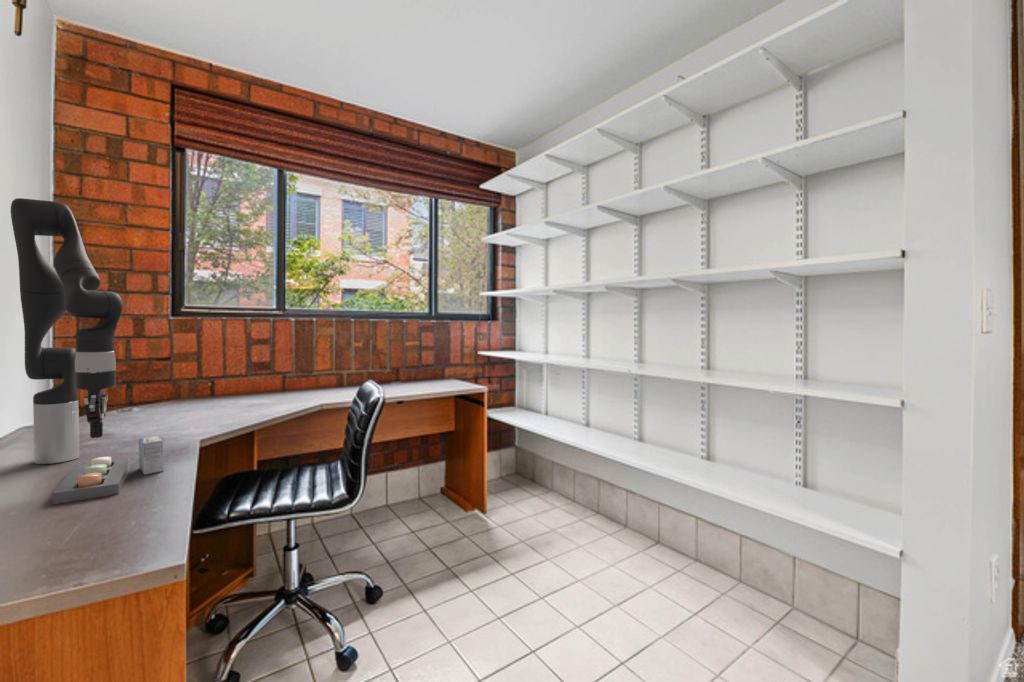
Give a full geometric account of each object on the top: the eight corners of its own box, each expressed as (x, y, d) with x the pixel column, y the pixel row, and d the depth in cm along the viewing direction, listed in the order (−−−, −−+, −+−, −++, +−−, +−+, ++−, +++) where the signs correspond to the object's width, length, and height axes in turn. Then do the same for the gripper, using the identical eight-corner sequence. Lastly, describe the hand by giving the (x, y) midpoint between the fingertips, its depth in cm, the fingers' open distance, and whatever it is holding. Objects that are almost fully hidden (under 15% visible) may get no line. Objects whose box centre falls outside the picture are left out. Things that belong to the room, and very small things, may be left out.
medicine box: (164, 471, 121) (163, 440, 120) (143, 475, 117) (142, 443, 117) (159, 465, 126) (158, 435, 126) (138, 468, 123) (138, 438, 123)
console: (75, 474, 117) (75, 465, 117) (130, 467, 124) (130, 458, 124) (52, 504, 98) (52, 493, 98) (118, 494, 104) (118, 483, 104)
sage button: (86, 477, 111) (86, 465, 111) (107, 474, 113) (107, 463, 113) (83, 482, 108) (83, 470, 108) (105, 479, 110) (105, 467, 110)
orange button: (80, 487, 105) (79, 474, 105) (102, 483, 107) (102, 471, 107) (76, 492, 101) (76, 479, 101) (99, 488, 104) (99, 476, 104)
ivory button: (92, 469, 118) (92, 458, 117) (112, 466, 120) (112, 455, 120) (89, 473, 114) (89, 461, 114) (110, 470, 117) (110, 459, 117)
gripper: (80, 367, 114) (81, 433, 114) (69, 372, 103) (70, 445, 104) (119, 366, 118) (119, 429, 119) (112, 371, 107) (112, 441, 108)
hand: (96, 437), depth 111 cm, fingers closed
